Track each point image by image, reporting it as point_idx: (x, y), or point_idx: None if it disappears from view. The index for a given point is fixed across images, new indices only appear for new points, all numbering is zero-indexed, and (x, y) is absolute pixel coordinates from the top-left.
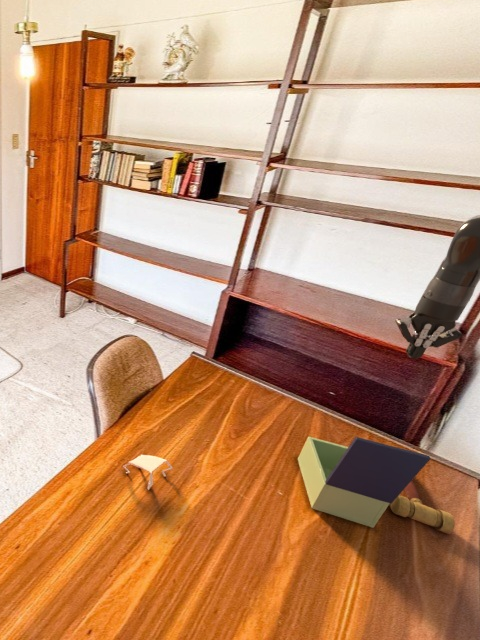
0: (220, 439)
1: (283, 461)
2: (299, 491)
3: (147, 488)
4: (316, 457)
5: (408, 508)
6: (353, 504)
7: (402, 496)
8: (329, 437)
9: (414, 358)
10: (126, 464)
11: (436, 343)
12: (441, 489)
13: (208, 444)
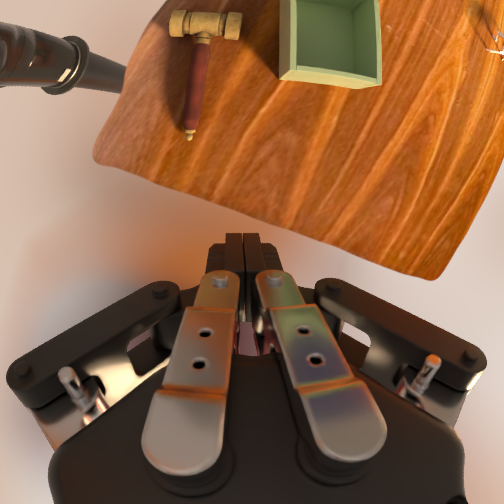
0: (445, 108)
1: None
2: None
3: (493, 35)
4: (379, 37)
5: (230, 12)
6: None
7: (232, 27)
8: (286, 160)
9: (239, 234)
10: None
11: (164, 301)
12: (140, 109)
13: (457, 97)
